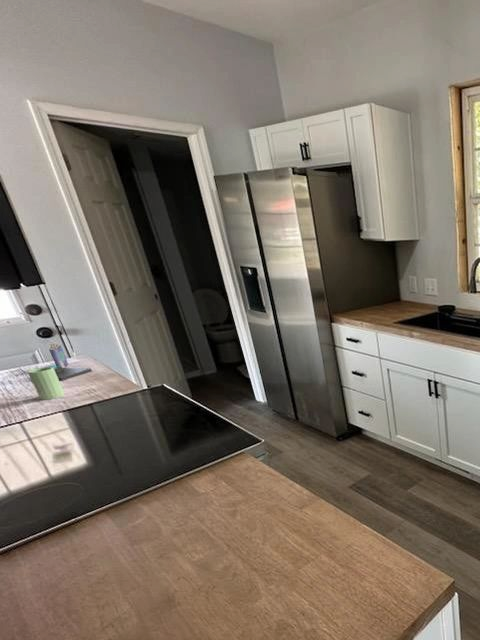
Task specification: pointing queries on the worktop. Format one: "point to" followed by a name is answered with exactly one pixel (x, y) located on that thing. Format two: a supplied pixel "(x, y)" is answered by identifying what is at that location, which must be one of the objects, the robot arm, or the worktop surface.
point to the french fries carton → (58, 355)
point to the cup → (46, 383)
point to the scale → (70, 372)
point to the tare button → (52, 366)
